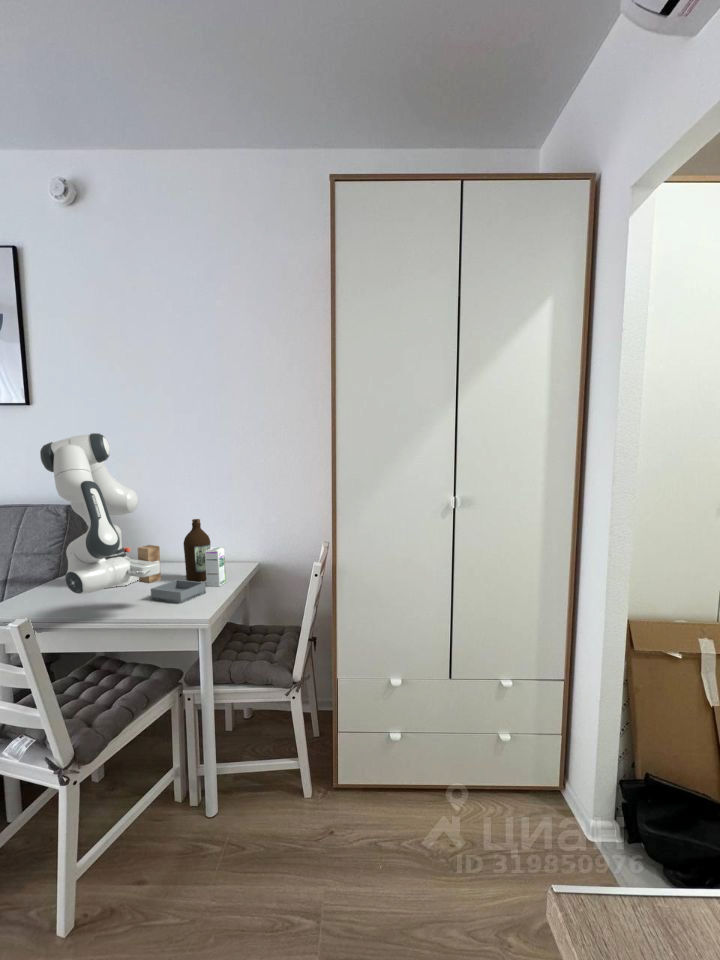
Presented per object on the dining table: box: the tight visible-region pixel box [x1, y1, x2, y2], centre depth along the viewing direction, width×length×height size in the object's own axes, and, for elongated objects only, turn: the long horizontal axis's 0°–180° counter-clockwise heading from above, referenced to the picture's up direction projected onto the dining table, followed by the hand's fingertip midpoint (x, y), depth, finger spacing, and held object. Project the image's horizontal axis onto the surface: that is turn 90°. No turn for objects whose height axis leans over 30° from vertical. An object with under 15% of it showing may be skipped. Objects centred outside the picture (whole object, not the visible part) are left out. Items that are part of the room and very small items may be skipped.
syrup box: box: [205, 546, 227, 588], centre depth 219 cm, size 6×6×14 cm
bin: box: [150, 579, 207, 604], centre depth 204 cm, size 14×14×4 cm
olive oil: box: [182, 518, 211, 582], centre depth 227 cm, size 11×11×25 cm
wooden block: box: [137, 544, 162, 584], centre depth 192 cm, size 5×5×12 cm
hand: (151, 561), depth 193 cm, fingers closed on wooden block, 5 cm apart
